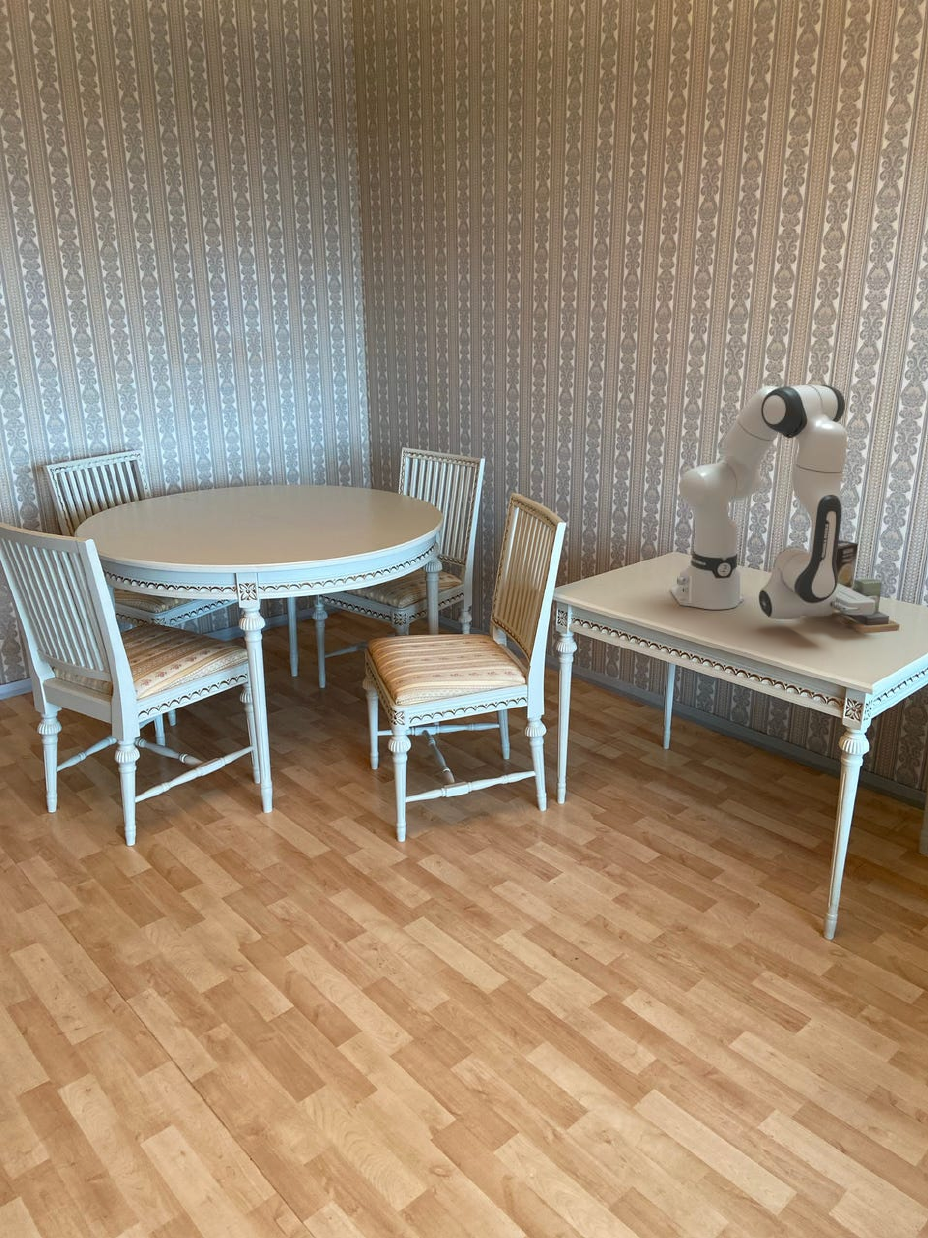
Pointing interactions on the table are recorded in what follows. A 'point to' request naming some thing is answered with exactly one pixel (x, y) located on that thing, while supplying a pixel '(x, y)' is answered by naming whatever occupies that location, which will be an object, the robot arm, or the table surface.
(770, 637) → the table surface
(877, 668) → the table surface
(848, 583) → the coffee box
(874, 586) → the block
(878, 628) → the pine board
